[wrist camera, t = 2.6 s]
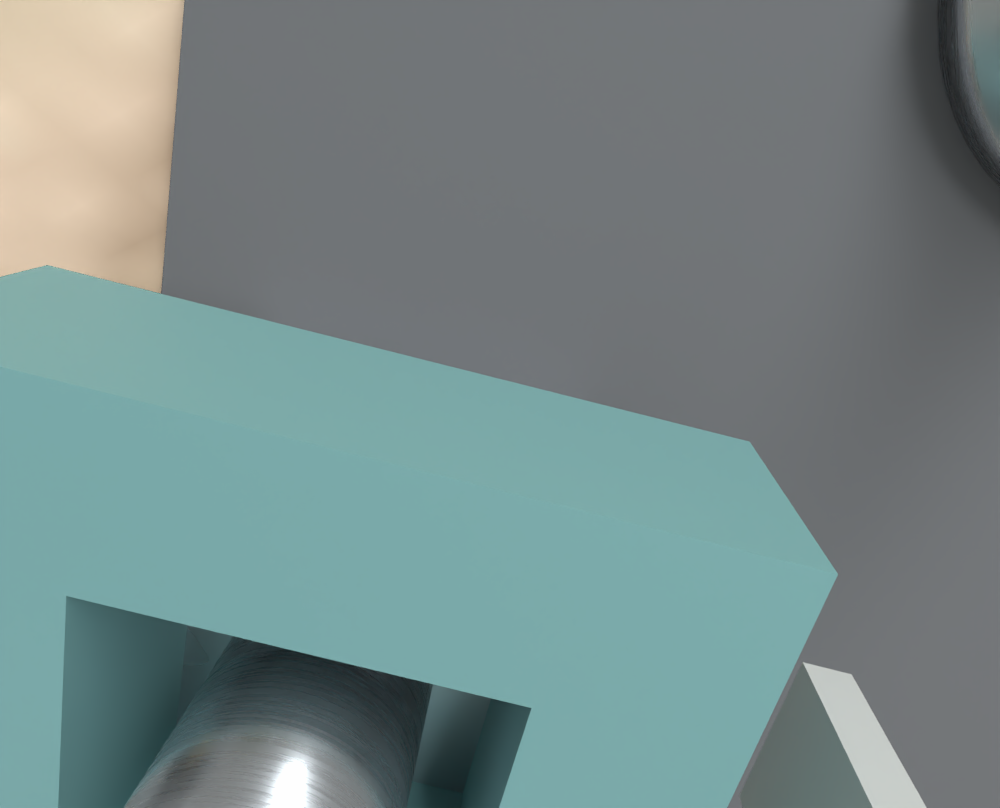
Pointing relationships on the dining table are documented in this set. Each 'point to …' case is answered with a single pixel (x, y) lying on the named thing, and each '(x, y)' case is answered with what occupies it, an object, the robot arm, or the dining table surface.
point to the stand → (305, 732)
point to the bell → (973, 74)
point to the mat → (654, 267)
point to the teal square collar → (374, 552)
